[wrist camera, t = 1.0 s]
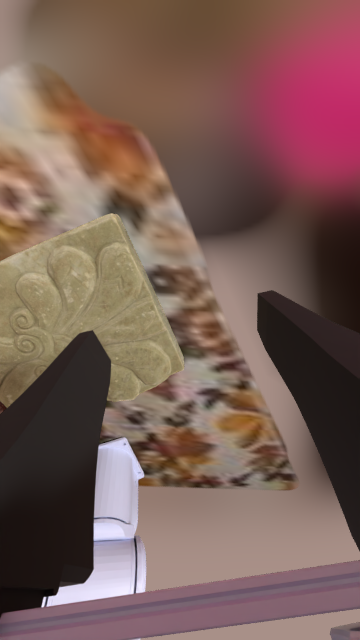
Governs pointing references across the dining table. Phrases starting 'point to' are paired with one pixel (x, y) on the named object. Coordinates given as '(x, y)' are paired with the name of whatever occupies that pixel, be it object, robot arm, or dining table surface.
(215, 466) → the dining table surface
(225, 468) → the dining table surface
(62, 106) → the dining table surface
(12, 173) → the dining table surface
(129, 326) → the decorative tile
